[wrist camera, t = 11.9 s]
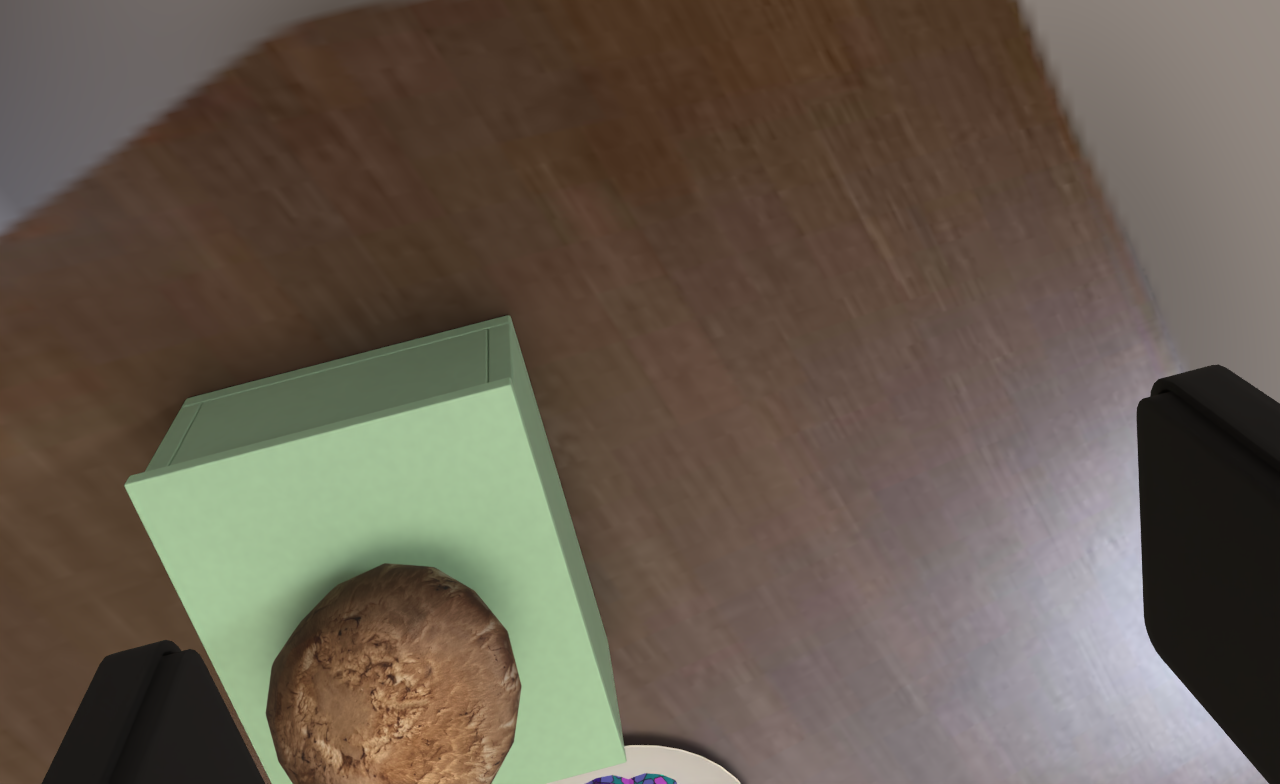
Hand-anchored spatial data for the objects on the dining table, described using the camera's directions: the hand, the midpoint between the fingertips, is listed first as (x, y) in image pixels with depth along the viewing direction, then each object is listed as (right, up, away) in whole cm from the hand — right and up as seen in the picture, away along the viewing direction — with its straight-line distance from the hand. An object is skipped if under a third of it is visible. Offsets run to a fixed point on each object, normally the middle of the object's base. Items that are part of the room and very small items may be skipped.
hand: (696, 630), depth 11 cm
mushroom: (-8, -6, +25) cm, 27 cm away
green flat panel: (-8, -5, +26) cm, 27 cm away
